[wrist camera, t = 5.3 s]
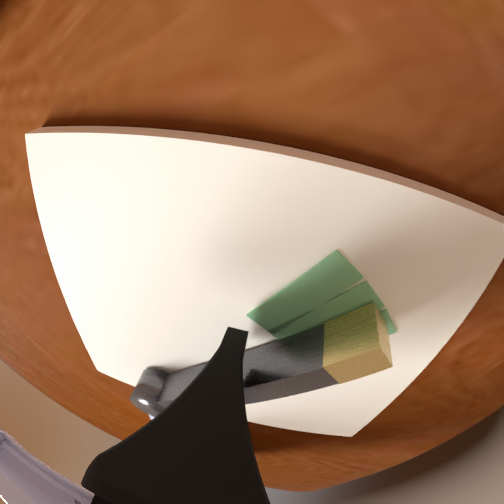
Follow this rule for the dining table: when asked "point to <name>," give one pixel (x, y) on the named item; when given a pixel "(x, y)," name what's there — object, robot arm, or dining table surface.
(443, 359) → the dining table surface
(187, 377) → the lever
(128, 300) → the board
